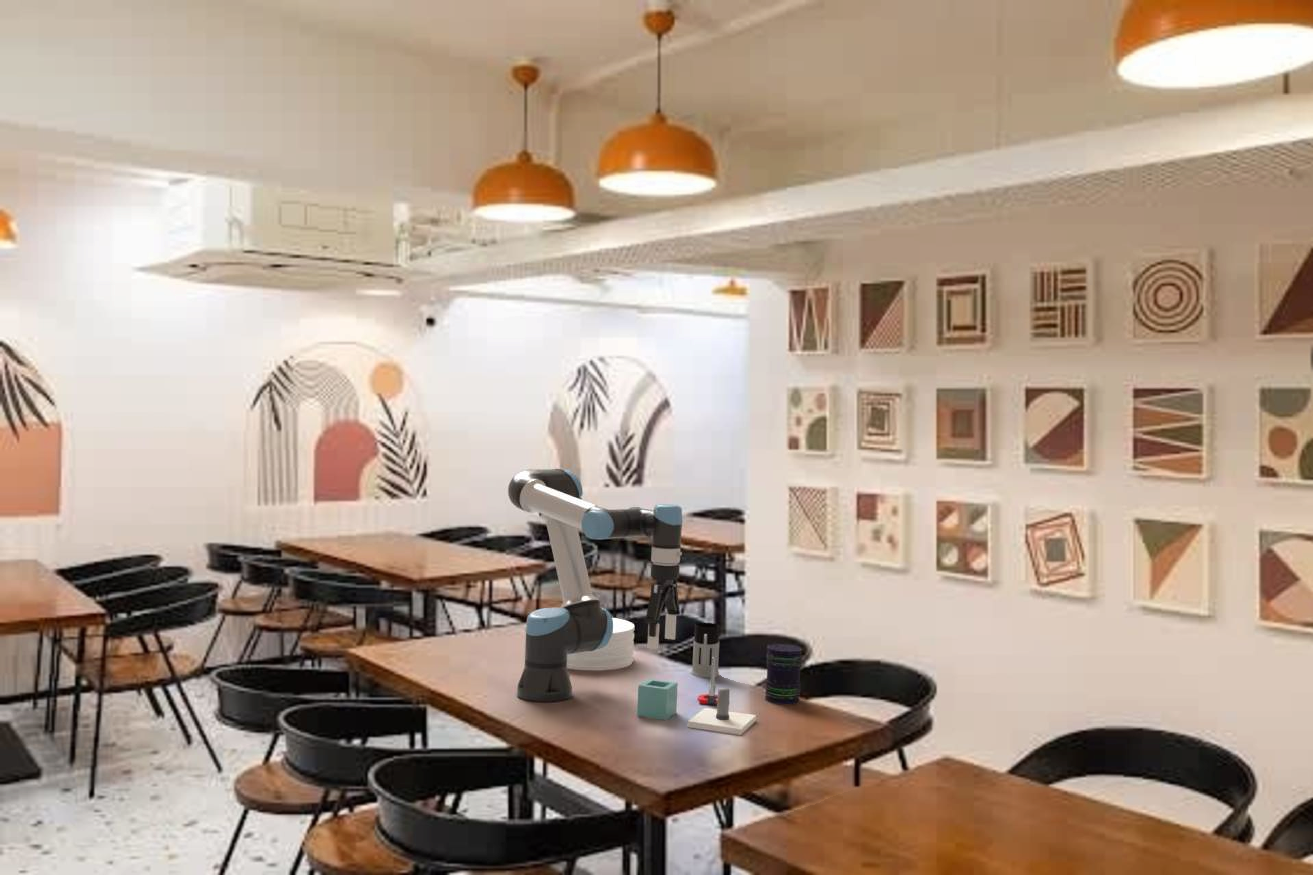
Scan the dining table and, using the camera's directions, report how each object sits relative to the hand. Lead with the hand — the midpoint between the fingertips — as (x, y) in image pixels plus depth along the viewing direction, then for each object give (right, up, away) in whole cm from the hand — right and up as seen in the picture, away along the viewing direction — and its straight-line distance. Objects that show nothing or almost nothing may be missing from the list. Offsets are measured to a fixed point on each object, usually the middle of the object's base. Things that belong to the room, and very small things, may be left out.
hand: (661, 643), depth 284 cm
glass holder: (+13, -18, +44) cm, 49 cm away
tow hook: (+14, -19, +16) cm, 29 cm away
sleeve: (-1, -19, 0) cm, 19 cm away
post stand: (+16, -19, -6) cm, 26 cm away
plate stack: (-23, -17, +58) cm, 65 cm away
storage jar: (+34, -20, +20) cm, 44 cm away
